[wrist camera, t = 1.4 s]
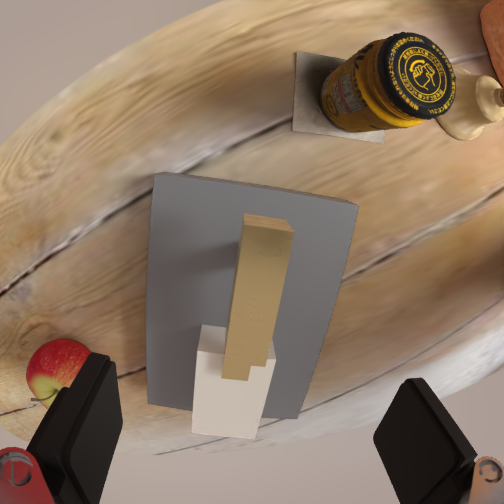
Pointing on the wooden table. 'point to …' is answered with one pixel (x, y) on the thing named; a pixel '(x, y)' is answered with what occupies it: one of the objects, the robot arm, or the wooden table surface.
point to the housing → (221, 280)
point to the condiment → (373, 88)
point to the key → (255, 293)
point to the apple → (54, 368)
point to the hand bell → (472, 105)
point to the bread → (494, 34)
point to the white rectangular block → (227, 391)
